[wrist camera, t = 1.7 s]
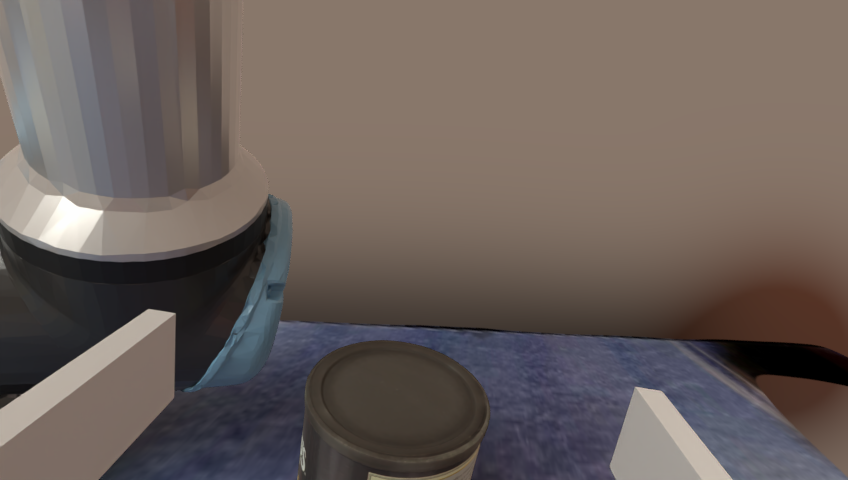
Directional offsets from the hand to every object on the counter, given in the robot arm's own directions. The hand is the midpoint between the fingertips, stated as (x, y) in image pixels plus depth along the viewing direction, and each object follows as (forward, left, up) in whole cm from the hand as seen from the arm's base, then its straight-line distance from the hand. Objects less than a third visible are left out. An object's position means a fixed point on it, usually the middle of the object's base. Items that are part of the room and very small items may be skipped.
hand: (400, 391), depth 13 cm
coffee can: (0, +11, -22) cm, 25 cm away
